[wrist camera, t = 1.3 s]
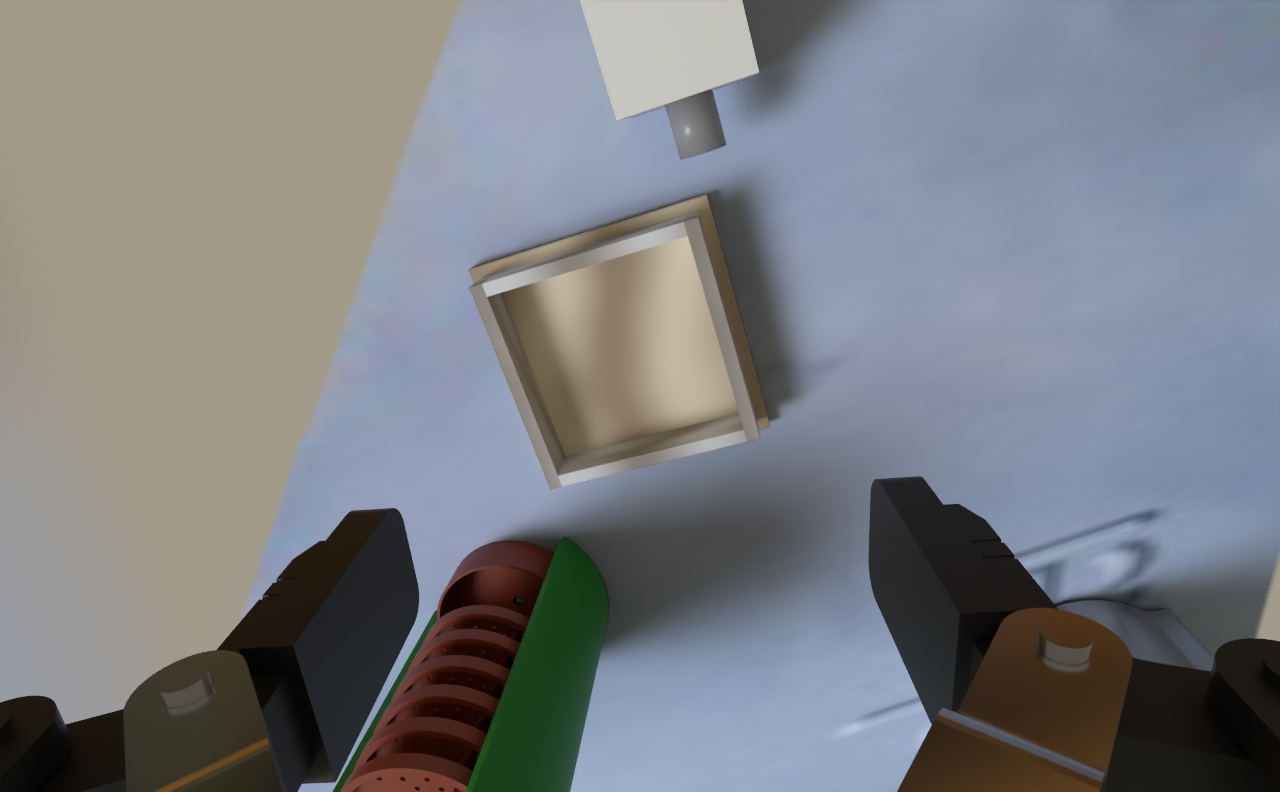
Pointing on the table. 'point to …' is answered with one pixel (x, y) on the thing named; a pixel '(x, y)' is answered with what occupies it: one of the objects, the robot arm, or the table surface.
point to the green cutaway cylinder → (493, 680)
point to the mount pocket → (623, 344)
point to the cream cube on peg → (672, 61)
